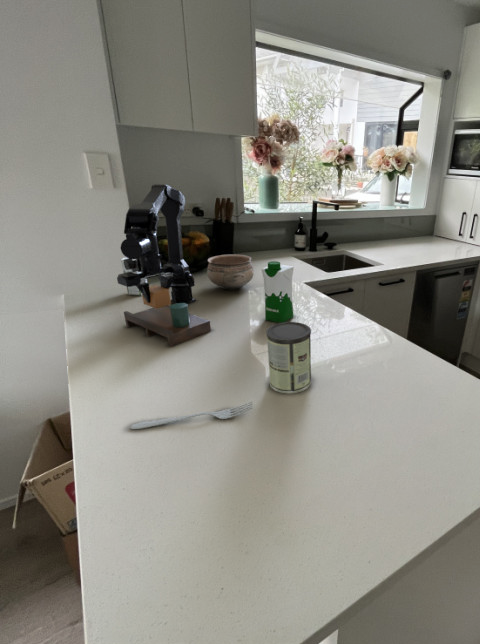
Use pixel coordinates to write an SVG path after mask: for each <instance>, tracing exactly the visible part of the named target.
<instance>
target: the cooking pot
mask: <svg viewBox="0 0 480 644" xmlns="http://www.w3.org/2000/svg"><path fill="white" fill-rule="evenodd" d="M207 262H208V265H207V269H206V271H207V272H206V275H207V278H208V279H209V281H210V282H211V283H212V284H214V285H216V286H217V287H220V288H223V289H224V290H227V291H235V290H239V289H241V288H242V287H243V286H245V285H247V284H248V283H250V282H251V281H252V279H253V277H254V275H255V269H254V266H253V263H252V257H251V256H248V255H245V254H231V253H230V254H221V255H219V254H218V255H215V256H211V257H209V258H208V259H207Z"/></svg>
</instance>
